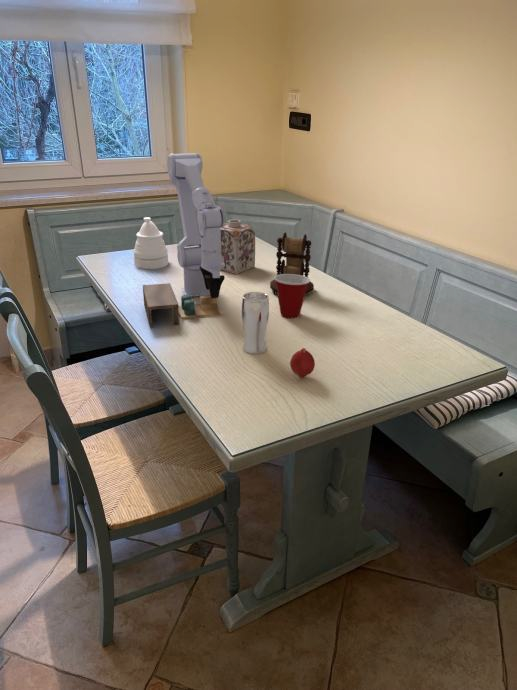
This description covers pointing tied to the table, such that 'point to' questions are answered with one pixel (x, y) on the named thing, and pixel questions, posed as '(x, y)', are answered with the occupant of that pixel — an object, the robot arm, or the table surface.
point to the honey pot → (150, 247)
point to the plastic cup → (291, 293)
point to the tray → (198, 307)
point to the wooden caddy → (160, 300)
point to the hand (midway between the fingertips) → (212, 293)
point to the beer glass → (255, 321)
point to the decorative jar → (237, 247)
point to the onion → (302, 363)
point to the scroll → (293, 259)
